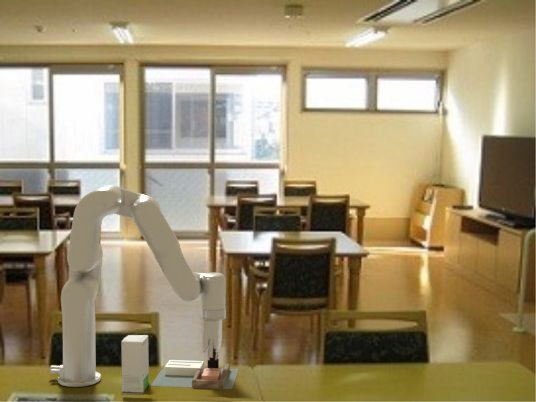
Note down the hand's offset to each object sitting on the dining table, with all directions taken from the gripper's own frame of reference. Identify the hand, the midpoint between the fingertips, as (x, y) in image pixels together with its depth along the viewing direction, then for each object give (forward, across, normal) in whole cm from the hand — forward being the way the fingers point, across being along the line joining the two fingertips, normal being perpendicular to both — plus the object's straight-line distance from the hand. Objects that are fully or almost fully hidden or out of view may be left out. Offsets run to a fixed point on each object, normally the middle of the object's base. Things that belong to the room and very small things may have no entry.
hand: (213, 371), depth 215 cm
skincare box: (+2, +13, -21) cm, 25 cm away
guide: (+1, +3, 0) cm, 3 cm away
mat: (+2, +3, -5) cm, 6 cm away
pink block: (+1, +5, 0) cm, 5 cm away
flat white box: (+1, -2, -9) cm, 9 cm away
